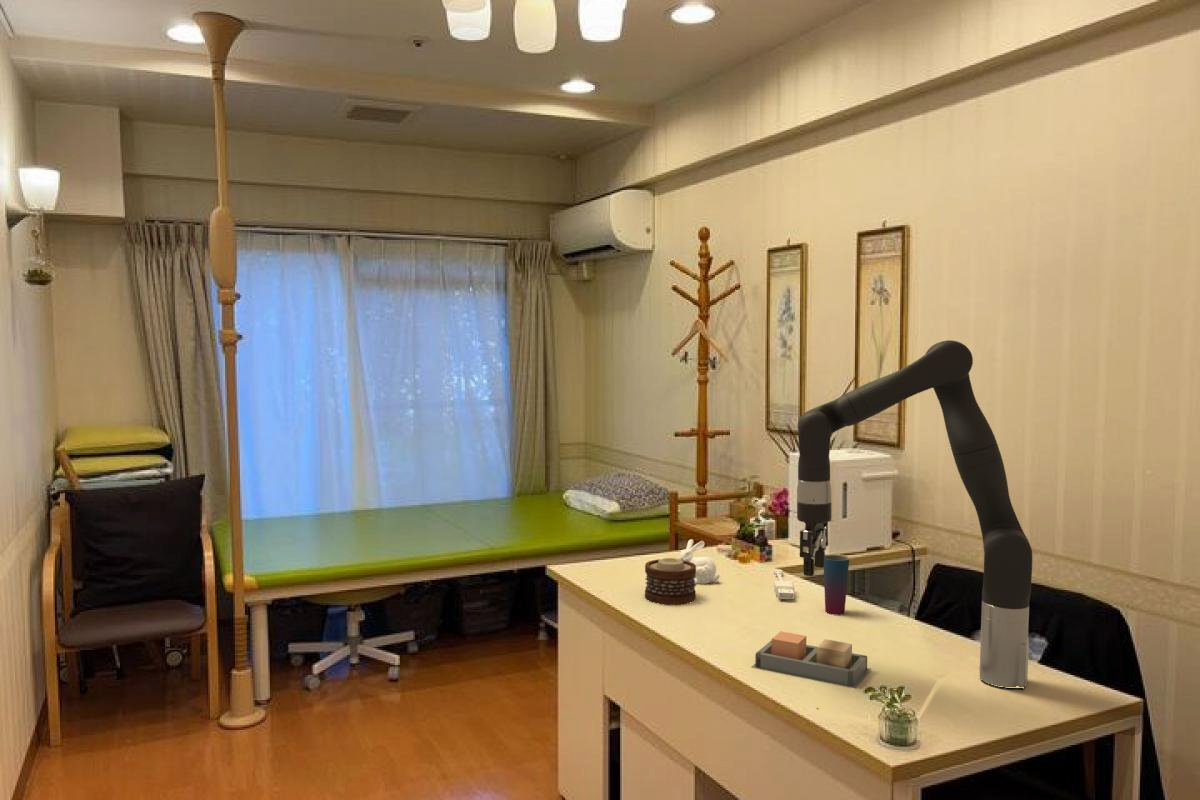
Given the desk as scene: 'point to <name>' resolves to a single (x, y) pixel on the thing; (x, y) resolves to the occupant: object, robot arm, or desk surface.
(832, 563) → the cup
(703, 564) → the rabbit
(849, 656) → the oak cube
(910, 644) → the desk surface
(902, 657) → the desk surface
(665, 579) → the spiked roller
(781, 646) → the terracotta cube
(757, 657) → the pocket tray
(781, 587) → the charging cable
